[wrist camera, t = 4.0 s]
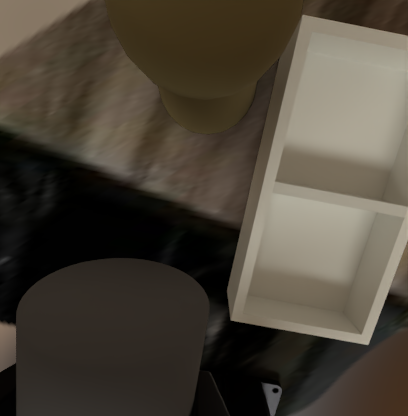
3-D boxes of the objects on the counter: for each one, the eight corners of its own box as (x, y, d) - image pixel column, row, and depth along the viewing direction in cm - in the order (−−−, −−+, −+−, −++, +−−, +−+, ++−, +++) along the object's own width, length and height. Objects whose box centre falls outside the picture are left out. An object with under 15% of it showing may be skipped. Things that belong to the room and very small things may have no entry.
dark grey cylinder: (182, 423, 9) (165, 624, 5) (70, 408, 9) (-33, 603, 5) (208, 269, 8) (211, 381, 4) (78, 250, 8) (-48, 348, 4)
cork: (198, 153, 17) (177, 157, 6) (138, 73, 16) (-12, -93, 5) (276, 93, 16) (413, -28, 5) (218, 4, 15) (238, -371, 4)
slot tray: (340, 311, 19) (368, 345, 16) (227, 290, 19) (230, 320, 15) (421, 71, 15) (479, 50, 12) (282, 44, 15) (302, 14, 12)
